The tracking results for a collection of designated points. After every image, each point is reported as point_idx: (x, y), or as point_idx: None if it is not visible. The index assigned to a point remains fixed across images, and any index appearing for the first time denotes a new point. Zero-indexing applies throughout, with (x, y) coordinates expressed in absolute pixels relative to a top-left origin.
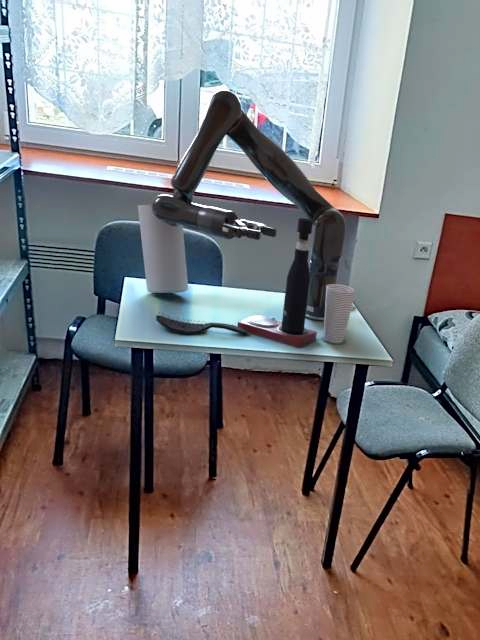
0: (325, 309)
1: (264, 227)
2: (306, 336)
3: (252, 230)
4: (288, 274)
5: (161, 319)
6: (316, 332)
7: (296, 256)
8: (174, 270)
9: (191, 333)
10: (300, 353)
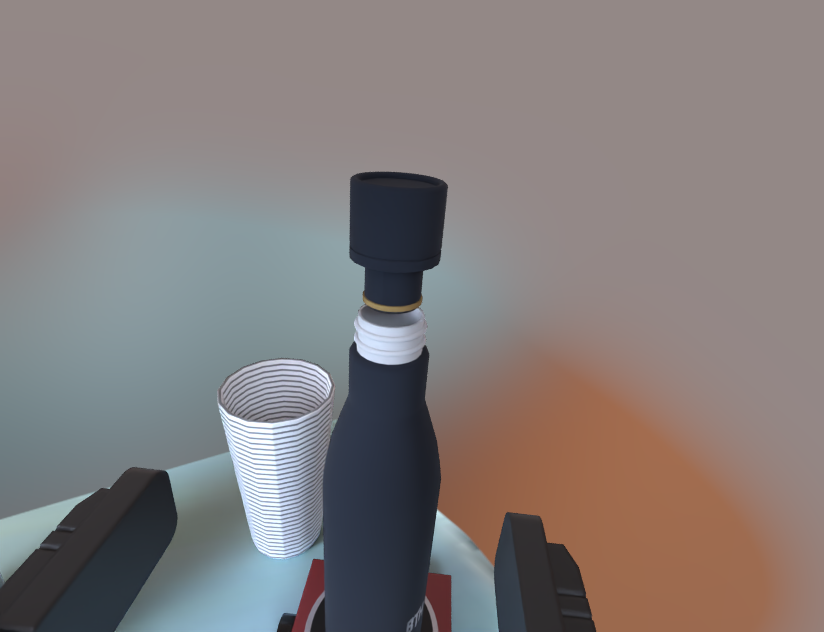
0: (300, 482)
1: (48, 623)
2: None
3: (558, 608)
4: (419, 497)
5: None
6: (316, 559)
7: (422, 390)
8: None
9: None
10: (491, 570)
